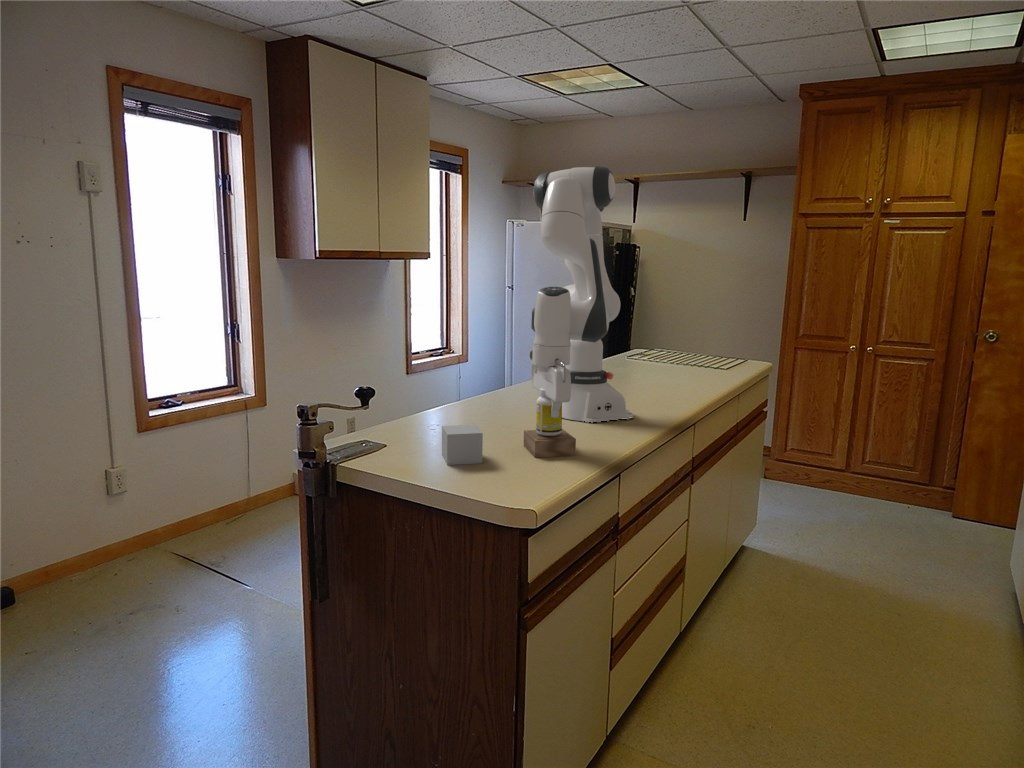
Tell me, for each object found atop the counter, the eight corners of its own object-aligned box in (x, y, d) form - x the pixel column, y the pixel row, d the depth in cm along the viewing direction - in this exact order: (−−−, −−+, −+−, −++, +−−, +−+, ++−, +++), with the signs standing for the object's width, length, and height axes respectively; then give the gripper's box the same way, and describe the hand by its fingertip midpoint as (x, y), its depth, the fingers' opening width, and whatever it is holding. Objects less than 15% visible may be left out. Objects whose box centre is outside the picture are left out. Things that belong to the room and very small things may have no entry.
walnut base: (561, 444, 166) (562, 428, 166) (575, 455, 157) (575, 438, 156) (523, 446, 164) (523, 429, 163) (534, 457, 154) (535, 440, 154)
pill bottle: (566, 433, 160) (568, 388, 158) (550, 438, 155) (551, 392, 153) (547, 428, 164) (547, 385, 162) (530, 433, 160) (531, 388, 157)
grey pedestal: (475, 453, 157) (475, 424, 156) (482, 463, 149) (482, 433, 148) (441, 454, 155) (441, 425, 154) (447, 465, 147) (447, 434, 146)
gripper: (579, 362, 147) (576, 423, 150) (551, 350, 167) (549, 404, 169) (552, 363, 146) (550, 424, 148) (527, 350, 165) (525, 405, 168)
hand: (549, 413), depth 159 cm, fingers closed on pill bottle, 6 cm apart
